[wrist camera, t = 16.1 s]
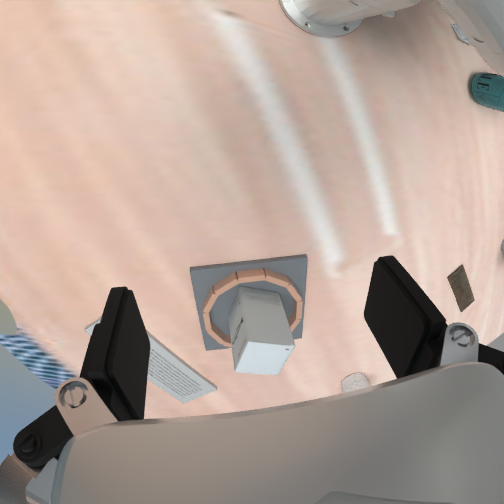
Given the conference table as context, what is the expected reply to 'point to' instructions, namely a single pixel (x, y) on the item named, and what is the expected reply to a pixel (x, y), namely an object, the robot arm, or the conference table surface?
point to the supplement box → (259, 332)
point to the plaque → (171, 372)
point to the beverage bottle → (489, 90)
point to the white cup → (354, 382)
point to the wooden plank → (461, 288)
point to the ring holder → (252, 276)
